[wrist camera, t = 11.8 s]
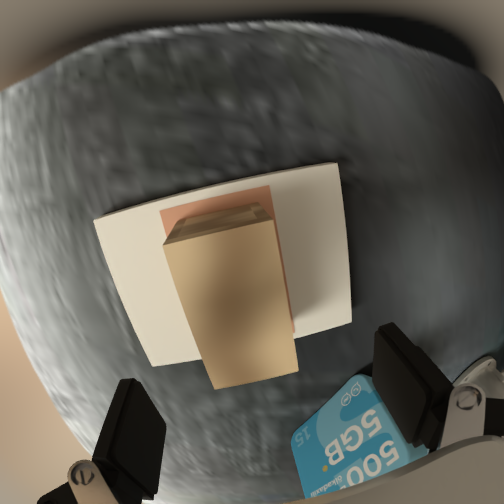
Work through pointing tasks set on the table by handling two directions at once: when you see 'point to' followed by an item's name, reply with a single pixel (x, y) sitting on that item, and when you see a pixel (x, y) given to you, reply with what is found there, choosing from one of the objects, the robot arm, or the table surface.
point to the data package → (350, 441)
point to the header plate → (289, 244)
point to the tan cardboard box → (233, 293)
